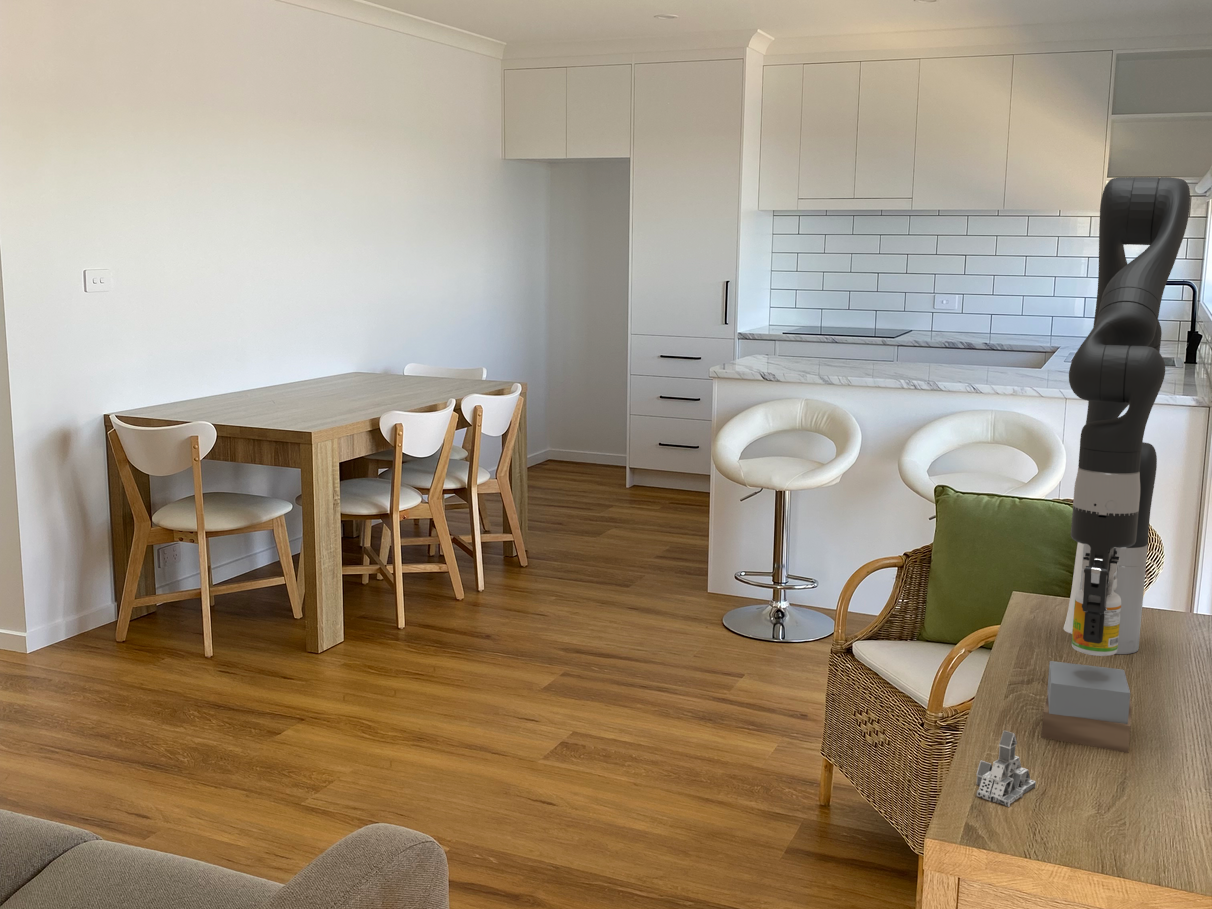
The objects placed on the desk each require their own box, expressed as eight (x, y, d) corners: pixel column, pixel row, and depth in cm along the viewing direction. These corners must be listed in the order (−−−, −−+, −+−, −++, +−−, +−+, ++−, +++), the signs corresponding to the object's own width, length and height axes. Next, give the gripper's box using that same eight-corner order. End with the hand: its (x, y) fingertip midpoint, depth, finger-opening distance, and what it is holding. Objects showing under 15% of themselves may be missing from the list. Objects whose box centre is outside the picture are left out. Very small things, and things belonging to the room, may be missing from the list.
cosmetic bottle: (1095, 627, 187) (1105, 500, 183) (1107, 638, 181) (1118, 507, 177) (1058, 625, 187) (1068, 499, 184) (1069, 636, 181) (1079, 506, 178)
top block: (1047, 689, 146) (1049, 660, 146) (1121, 698, 143) (1124, 669, 143) (1049, 713, 138) (1051, 683, 138) (1127, 724, 135) (1130, 693, 134)
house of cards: (971, 764, 132) (976, 703, 131) (1043, 787, 126) (1048, 724, 125) (934, 787, 126) (938, 723, 125) (1007, 813, 120) (1012, 747, 119)
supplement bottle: (1067, 641, 143) (1072, 569, 142) (1111, 644, 142) (1117, 572, 141) (1076, 655, 138) (1081, 580, 137) (1121, 658, 137) (1128, 582, 135)
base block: (1047, 715, 148) (1049, 686, 148) (1128, 728, 144) (1131, 699, 143) (1041, 741, 139) (1043, 711, 139) (1128, 757, 135) (1130, 726, 134)
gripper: (1079, 493, 145) (1070, 616, 148) (1066, 511, 133) (1056, 646, 135) (1142, 499, 142) (1131, 625, 144) (1134, 518, 129) (1122, 656, 132)
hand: (1095, 634), depth 140 cm, fingers closed on supplement bottle, 5 cm apart
